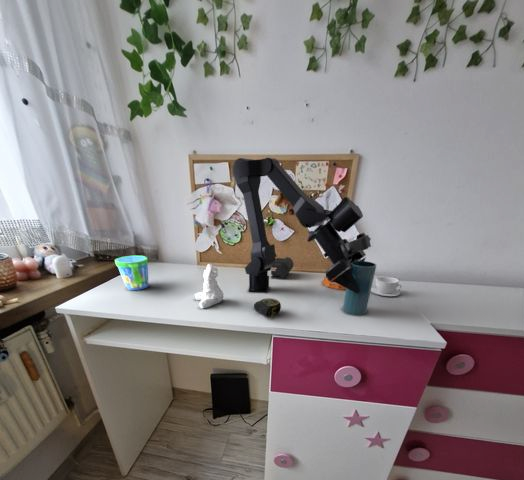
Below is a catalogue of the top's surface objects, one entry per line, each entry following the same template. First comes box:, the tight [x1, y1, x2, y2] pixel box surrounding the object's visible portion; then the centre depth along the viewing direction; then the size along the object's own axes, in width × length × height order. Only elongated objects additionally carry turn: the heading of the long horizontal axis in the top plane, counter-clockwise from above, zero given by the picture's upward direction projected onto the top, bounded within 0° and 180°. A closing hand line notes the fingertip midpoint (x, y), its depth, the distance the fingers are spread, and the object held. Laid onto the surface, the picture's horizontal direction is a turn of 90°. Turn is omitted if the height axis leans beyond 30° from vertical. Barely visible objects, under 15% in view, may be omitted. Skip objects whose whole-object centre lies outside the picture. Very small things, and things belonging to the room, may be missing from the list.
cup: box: [342, 260, 377, 316], centre depth 79 cm, size 7×7×14 cm
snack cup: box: [114, 255, 149, 291], centre depth 97 cm, size 16×10×10 cm
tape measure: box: [253, 298, 282, 318], centre depth 79 cm, size 7×7×4 cm
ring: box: [322, 276, 346, 291], centre depth 104 cm, size 14×14×2 cm
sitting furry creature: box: [194, 263, 224, 309], centre depth 85 cm, size 10×9×12 cm
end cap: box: [270, 256, 294, 280], centre depth 112 cm, size 10×7×7 cm
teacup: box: [370, 276, 403, 297], centre depth 96 cm, size 10×10×5 cm
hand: (363, 288), depth 78 cm, fingers open, 9 cm apart
